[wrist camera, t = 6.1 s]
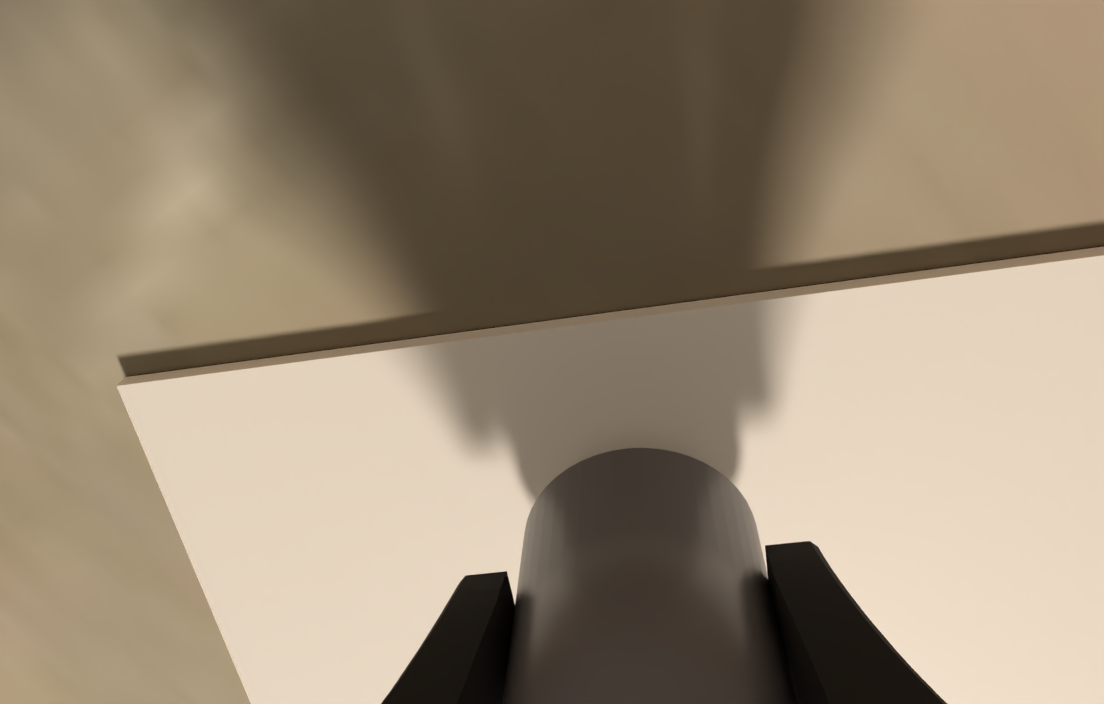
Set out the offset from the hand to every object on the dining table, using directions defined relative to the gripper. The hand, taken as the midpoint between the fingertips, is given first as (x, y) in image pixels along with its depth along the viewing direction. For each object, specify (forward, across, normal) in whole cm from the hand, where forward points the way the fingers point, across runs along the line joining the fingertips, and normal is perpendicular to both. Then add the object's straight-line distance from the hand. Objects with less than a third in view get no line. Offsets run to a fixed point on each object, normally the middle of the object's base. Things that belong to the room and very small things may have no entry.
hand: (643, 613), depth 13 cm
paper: (+3, -1, +3) cm, 4 cm away
